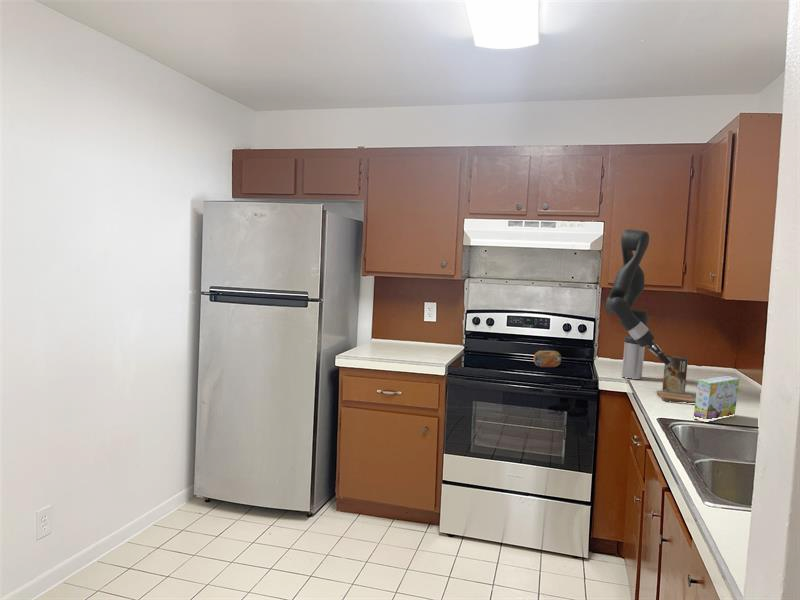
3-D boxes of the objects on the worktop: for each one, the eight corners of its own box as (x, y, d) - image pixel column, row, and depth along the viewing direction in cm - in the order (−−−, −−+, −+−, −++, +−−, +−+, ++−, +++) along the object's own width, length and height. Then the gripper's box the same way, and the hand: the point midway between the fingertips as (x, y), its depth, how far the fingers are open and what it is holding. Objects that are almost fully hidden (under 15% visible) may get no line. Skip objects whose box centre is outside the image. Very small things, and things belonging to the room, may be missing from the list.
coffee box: (685, 393, 263) (689, 357, 261) (684, 396, 257) (688, 359, 256) (662, 390, 267) (666, 354, 266) (661, 392, 262) (665, 356, 260)
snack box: (707, 423, 215) (712, 382, 214) (692, 419, 220) (696, 379, 218) (736, 416, 228) (740, 377, 226) (721, 413, 232) (725, 374, 231)
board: (656, 393, 259) (656, 390, 259) (688, 397, 256) (688, 393, 256) (663, 401, 245) (663, 398, 245) (697, 405, 243) (697, 401, 243)
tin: (534, 367, 306) (536, 351, 305) (531, 366, 309) (533, 349, 308) (561, 367, 310) (562, 351, 309) (558, 366, 313) (559, 350, 312)
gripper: (651, 330, 256) (677, 359, 254) (644, 326, 269) (669, 354, 268) (636, 341, 257) (662, 370, 256) (631, 337, 271) (655, 364, 270)
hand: (666, 362), depth 262 cm, fingers open, 8 cm apart
